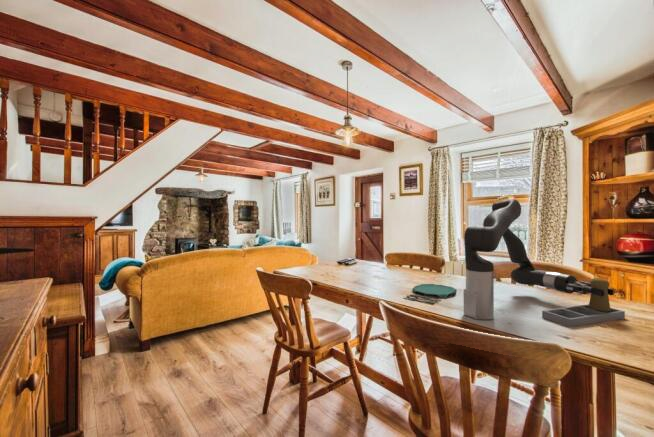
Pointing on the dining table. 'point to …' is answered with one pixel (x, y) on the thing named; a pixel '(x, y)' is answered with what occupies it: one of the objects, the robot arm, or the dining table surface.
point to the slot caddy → (581, 315)
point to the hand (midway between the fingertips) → (608, 293)
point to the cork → (600, 301)
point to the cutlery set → (431, 292)
